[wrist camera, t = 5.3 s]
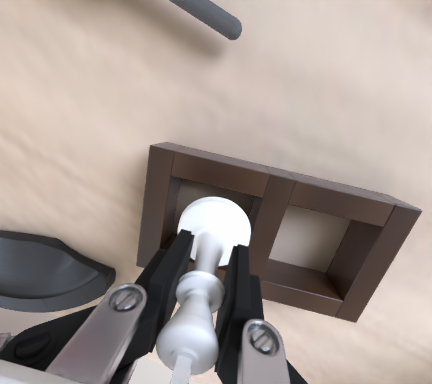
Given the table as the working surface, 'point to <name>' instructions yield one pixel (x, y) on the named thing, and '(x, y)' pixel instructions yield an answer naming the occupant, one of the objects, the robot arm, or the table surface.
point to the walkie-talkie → (212, 16)
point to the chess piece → (201, 287)
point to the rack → (270, 222)
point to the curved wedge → (47, 274)
